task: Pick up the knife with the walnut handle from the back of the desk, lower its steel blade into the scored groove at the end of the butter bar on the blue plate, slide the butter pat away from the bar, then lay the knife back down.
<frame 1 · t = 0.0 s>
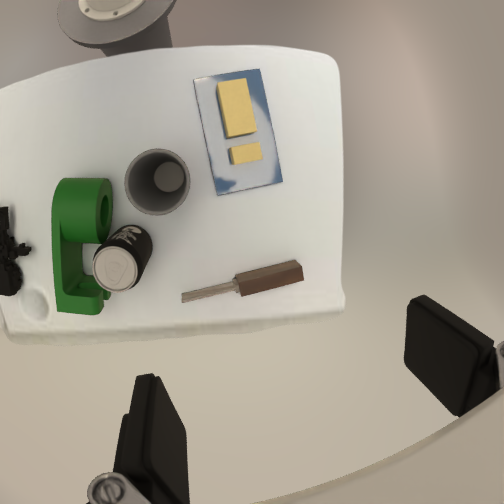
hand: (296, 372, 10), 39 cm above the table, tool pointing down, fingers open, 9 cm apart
toy: (0, 205, 38), point 2 cm above the table
tape dispenser: (62, 241, 39), point 5 cm above the table
butter pat: (243, 153, 45), point 1 cm above the table, touching butter plate
butter bar: (234, 110, 42), point 1 cm above the table, touching butter plate
beverage can: (132, 244, 46), on the table
cup: (169, 176, 44), on the table
butter plate: (238, 129, 44), on the table
knife: (266, 273, 51), on the table
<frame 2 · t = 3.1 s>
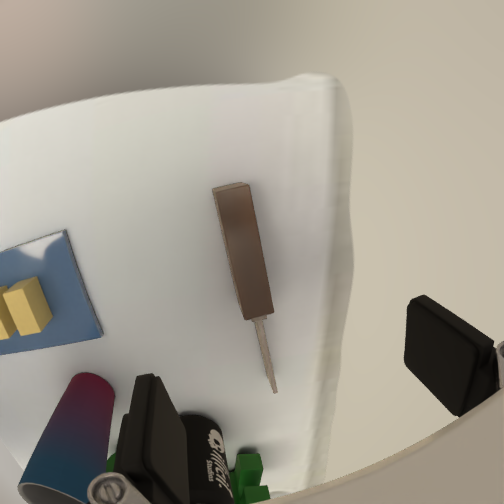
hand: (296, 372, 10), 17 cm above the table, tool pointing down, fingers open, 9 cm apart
tape dispenser: (185, 503, 28), point 5 cm above the table
butter pat: (35, 299, 23), point 1 cm above the table, touching butter plate
beverage can: (192, 429, 31), on the table
cup: (92, 390, 27), on the table
butter plate: (11, 303, 23), on the table
knife: (239, 244, 26), on the table
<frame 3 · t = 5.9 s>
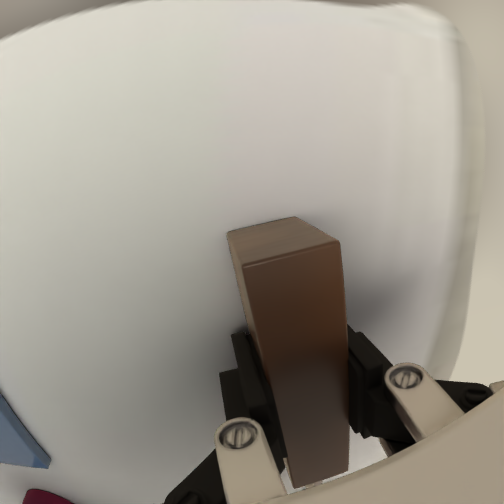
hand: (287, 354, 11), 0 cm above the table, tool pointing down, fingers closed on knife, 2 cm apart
knife: (284, 348, 12), on the table, touching gripper
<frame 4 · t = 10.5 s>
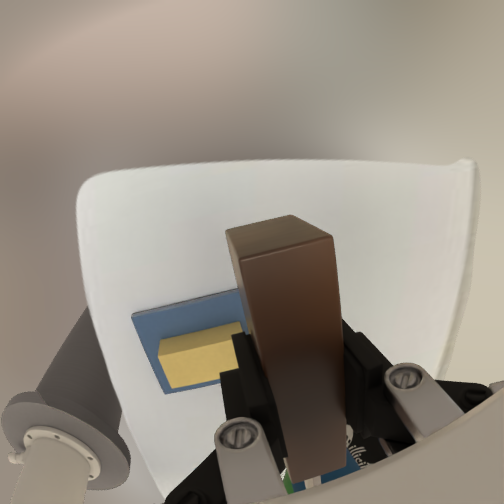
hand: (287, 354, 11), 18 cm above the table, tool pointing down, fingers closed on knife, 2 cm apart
butter bar: (204, 347, 30), point 1 cm above the table, touching butter plate
beverage can: (354, 417, 39), on the table
cup: (290, 399, 35), on the table
butter plate: (232, 336, 31), on the table
knife: (282, 344, 12), point 17 cm above the table, touching gripper
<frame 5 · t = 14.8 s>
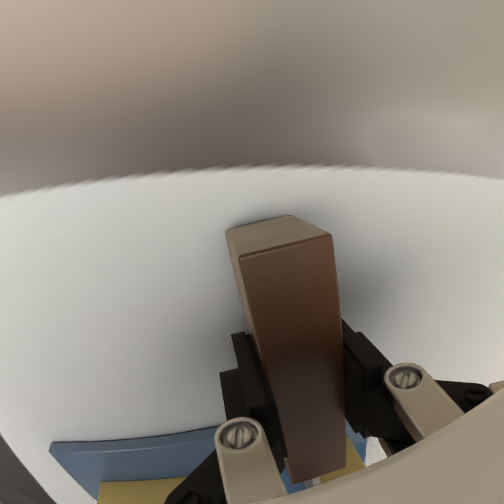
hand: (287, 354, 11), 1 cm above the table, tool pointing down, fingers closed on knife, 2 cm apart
butter pat: (328, 460, 15), point 1 cm above the table, touching butter plate, knife
butter bar: (173, 494, 14), point 1 cm above the table, touching butter plate
butter plate: (219, 477, 15), on the table
knife: (282, 344, 12), point 1 cm above the table, touching butter pat, butter plate, gripper
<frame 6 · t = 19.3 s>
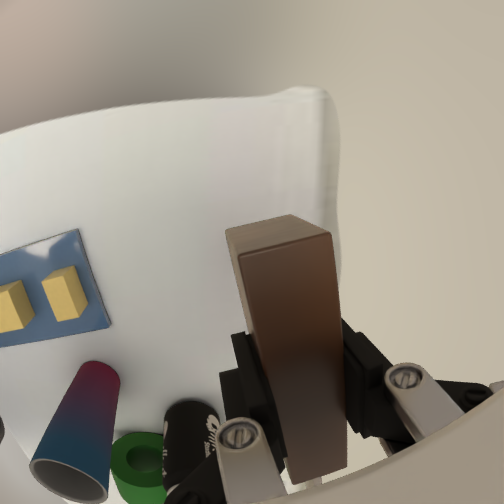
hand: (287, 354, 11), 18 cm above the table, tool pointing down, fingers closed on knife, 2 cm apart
tape dispenser: (185, 488, 31), point 5 cm above the table
butter pat: (70, 287, 26), point 1 cm above the table, touching butter plate
butter bar: (3, 304, 25), point 1 cm above the table, touching butter plate
beverage can: (191, 415, 34), on the table
cup: (99, 377, 30), on the table
butter plate: (25, 296, 26), on the table
knife: (282, 344, 12), point 17 cm above the table, touching gripper
when the fingers open (1 cm above the table, at t = 22.7 s): knife stays where it is, on the table.
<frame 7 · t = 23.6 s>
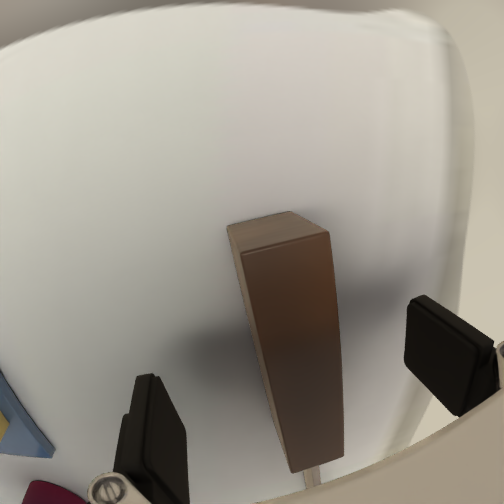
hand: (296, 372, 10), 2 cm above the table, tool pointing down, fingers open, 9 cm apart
cup: (59, 496, 14), on the table
knife: (282, 336, 13), on the table
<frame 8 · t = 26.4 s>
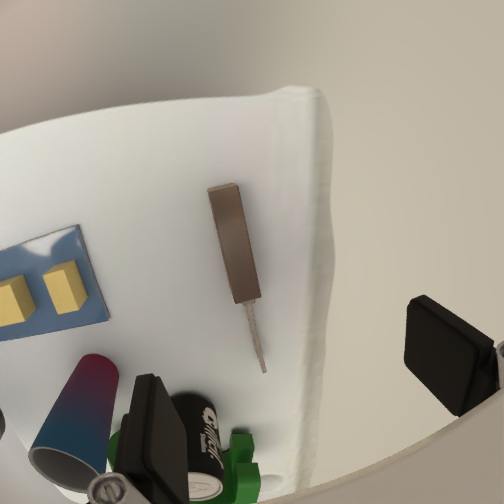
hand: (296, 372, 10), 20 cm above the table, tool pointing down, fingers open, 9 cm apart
tape dispenser: (182, 481, 32), point 5 cm above the table
butter pat: (71, 281, 27), point 1 cm above the table, touching butter plate
butter bar: (5, 298, 26), point 1 cm above the table, touching butter plate
beverage can: (188, 408, 35), on the table
cup: (98, 370, 31), on the table
butter plate: (26, 290, 27), on the table
knife: (231, 238, 30), on the table
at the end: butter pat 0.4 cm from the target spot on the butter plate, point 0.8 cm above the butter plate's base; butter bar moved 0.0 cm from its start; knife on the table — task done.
